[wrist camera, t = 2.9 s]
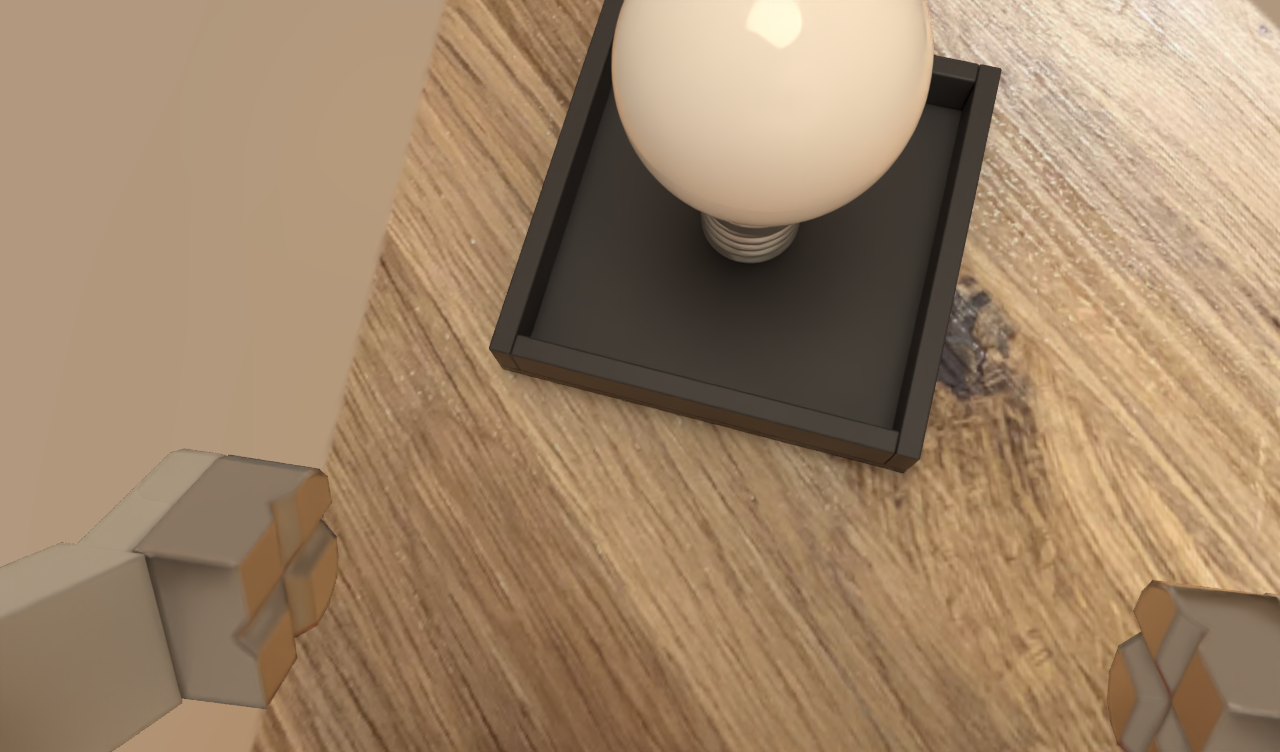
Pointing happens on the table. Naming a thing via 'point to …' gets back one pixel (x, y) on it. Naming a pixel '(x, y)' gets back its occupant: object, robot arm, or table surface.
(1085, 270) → the table surface
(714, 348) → the tray
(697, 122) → the lightbulb
